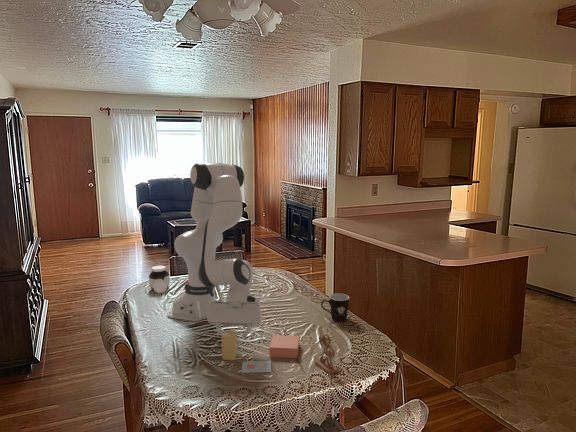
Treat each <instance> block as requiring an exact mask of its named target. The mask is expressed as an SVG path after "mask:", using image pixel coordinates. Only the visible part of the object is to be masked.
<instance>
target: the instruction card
mask: <svg viewBox="0 0 576 432" xmlns="http://www.w3.org/2000/svg"><path fill="white" fill-rule="evenodd" d="M241 364H242V365H241V371H240V373H241V374H245V373H246V374H247V373H249V374H252V373H253V374H255V373H271V372H272V360H261V361H260V360H259V361H258V360H257V361H255V360H253V361H252V360H251V361H250V360H249V361H242V363H241Z"/></svg>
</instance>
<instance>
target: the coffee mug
mask: <svg viewBox="0 0 576 432" xmlns="http://www.w3.org/2000/svg"><path fill="white" fill-rule="evenodd" d="M325 302H327V303H328V304H329V306H330V310H328V309H327V308H325V307H324V306H323V304H324V303H325ZM349 302H350V296H349V295H348V294H345V293H332V294H330V295H329V300H328V299H325V300H323V301H321V303H320V306H321V308H322V309H323V310H324V311H326V312H328V313H329V314H330V315H331V320H332V321H333V322H336V323H337V322H338V323H339V322H341V323H342V322H345V321H347V317H348V310H349V304H350V303H349Z"/></svg>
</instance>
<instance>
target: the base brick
mask: <svg viewBox="0 0 576 432" xmlns="http://www.w3.org/2000/svg"><path fill="white" fill-rule="evenodd" d="M299 348H300V336H299V335H284V334H283V335H278V334H273V335H272V338H271V341H270V344H269V358H288V359H298V354H299Z"/></svg>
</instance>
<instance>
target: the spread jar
mask: <svg viewBox="0 0 576 432" xmlns="http://www.w3.org/2000/svg"><path fill="white" fill-rule="evenodd" d="M170 279H171V278H170V273H169V272H168V271H167V270H166V266H164V265H156V266H152V267H151V272H150V273H149V276H148V283H149V288H151V290H153V291H154V292H155V293H158V294H162V293H165V292H166V291H167V289H168V287H169V286H170V281H171V280H170Z"/></svg>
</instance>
